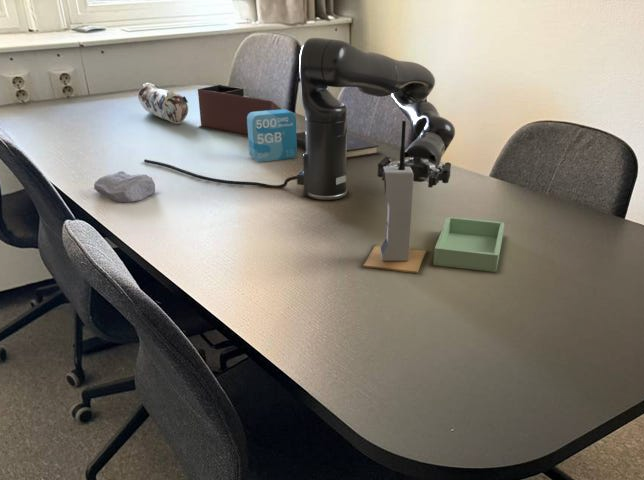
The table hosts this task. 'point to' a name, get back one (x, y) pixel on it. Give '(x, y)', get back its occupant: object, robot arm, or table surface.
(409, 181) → the vintage mobile phone
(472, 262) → the tray
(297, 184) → the robot arm
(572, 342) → the table surface
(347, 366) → the table surface
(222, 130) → the desk organizer
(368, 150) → the hardcover book
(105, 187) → the stone block
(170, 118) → the pencil case
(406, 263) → the cork pad
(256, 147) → the data package
